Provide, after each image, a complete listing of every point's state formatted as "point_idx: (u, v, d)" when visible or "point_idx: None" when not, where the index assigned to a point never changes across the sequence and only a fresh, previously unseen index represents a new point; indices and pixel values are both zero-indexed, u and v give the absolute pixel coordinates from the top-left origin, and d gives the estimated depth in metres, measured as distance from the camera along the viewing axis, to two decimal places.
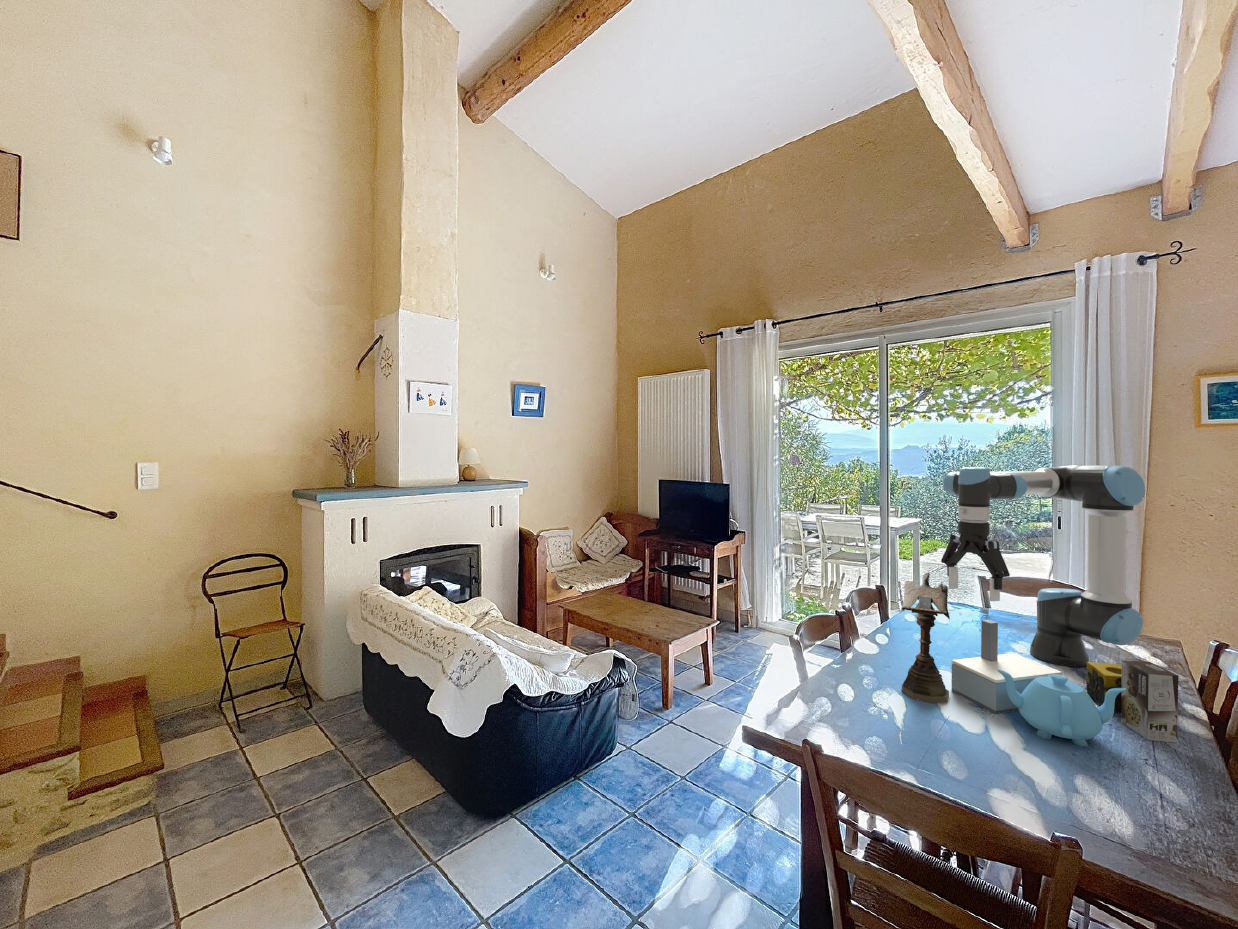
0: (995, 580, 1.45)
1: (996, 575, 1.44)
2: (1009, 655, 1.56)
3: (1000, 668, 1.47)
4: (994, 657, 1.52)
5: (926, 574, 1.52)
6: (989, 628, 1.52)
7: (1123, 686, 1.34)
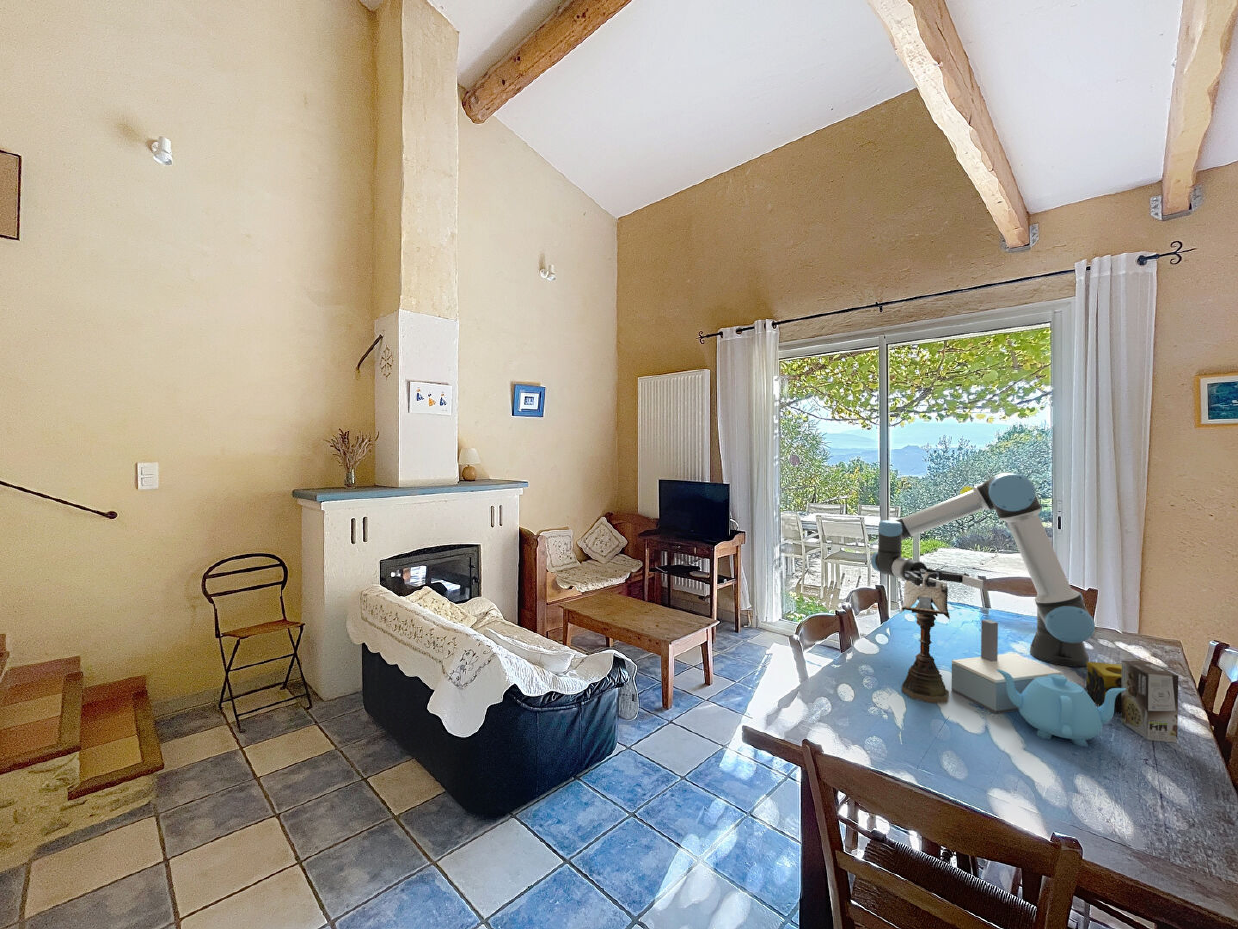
0: None
1: None
2: (1009, 655, 1.56)
3: (1000, 668, 1.47)
4: (994, 657, 1.52)
5: (926, 574, 1.52)
6: (989, 628, 1.52)
7: (1123, 686, 1.34)
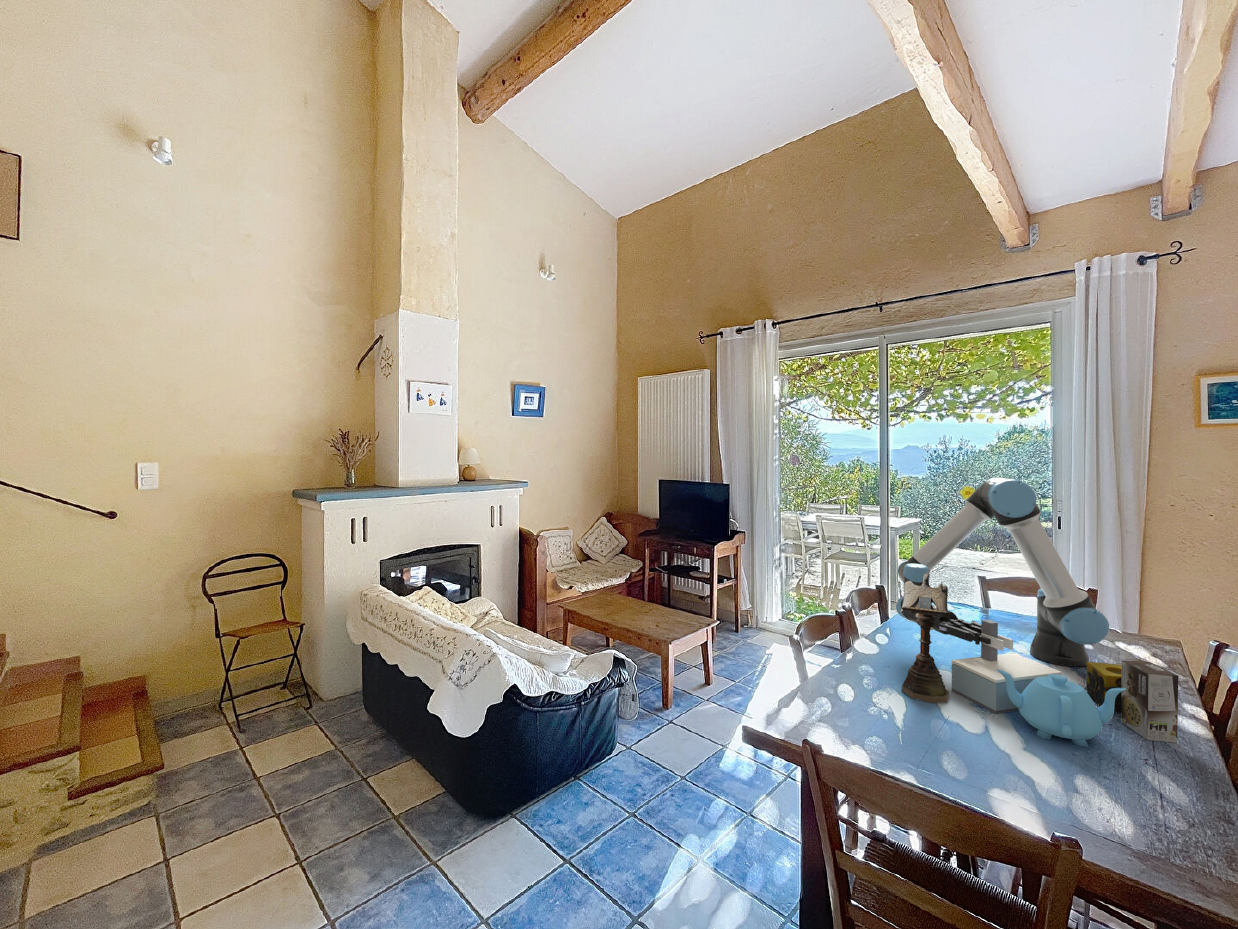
0: None
1: (975, 641, 1.54)
2: (1009, 655, 1.56)
3: (1000, 668, 1.47)
4: (994, 657, 1.52)
5: (926, 574, 1.52)
6: (989, 628, 1.52)
7: (1123, 686, 1.34)
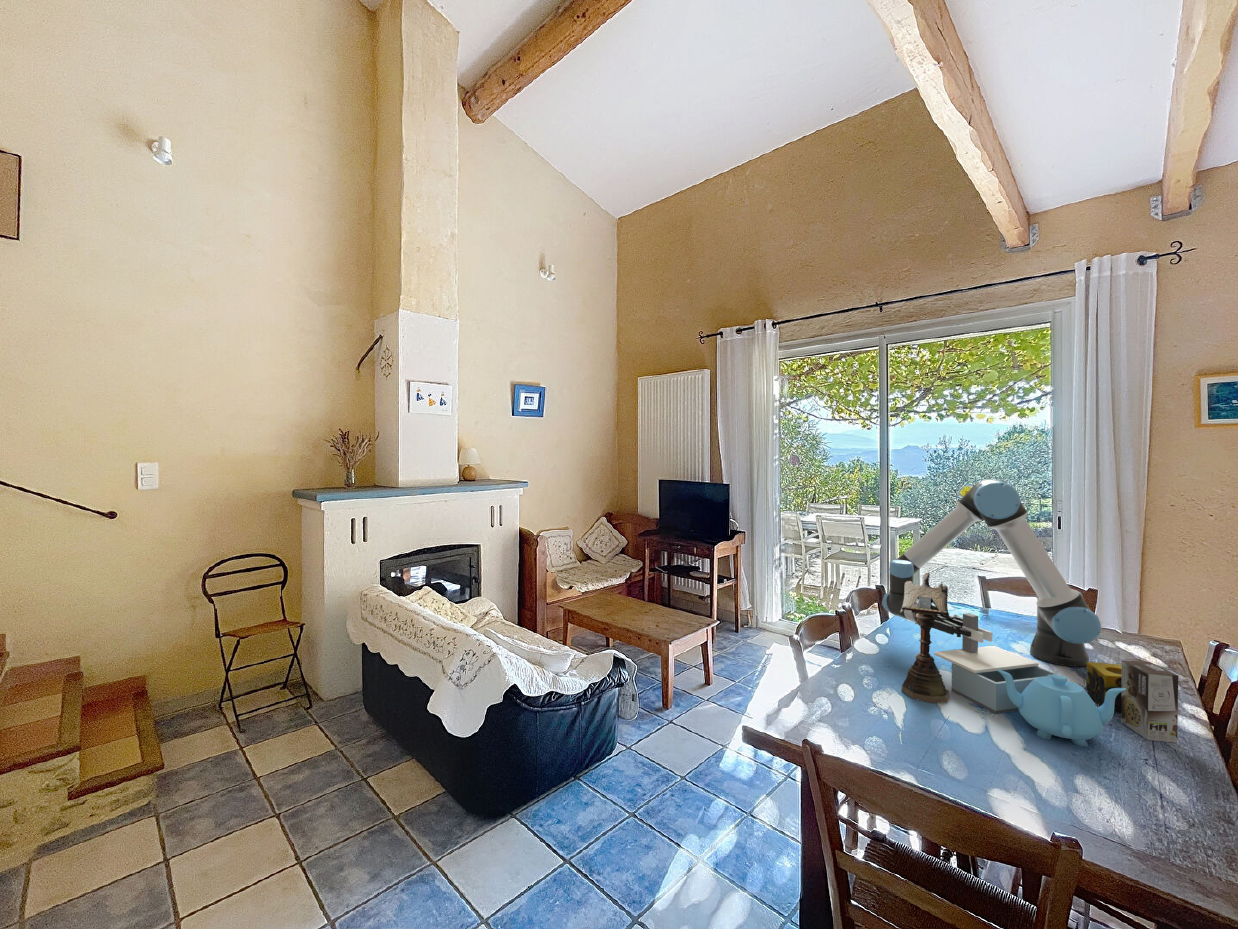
0: None
1: (957, 634, 1.61)
2: (989, 647, 1.63)
3: (980, 659, 1.53)
4: (974, 649, 1.58)
5: (926, 574, 1.52)
6: (970, 621, 1.58)
7: (1123, 686, 1.34)
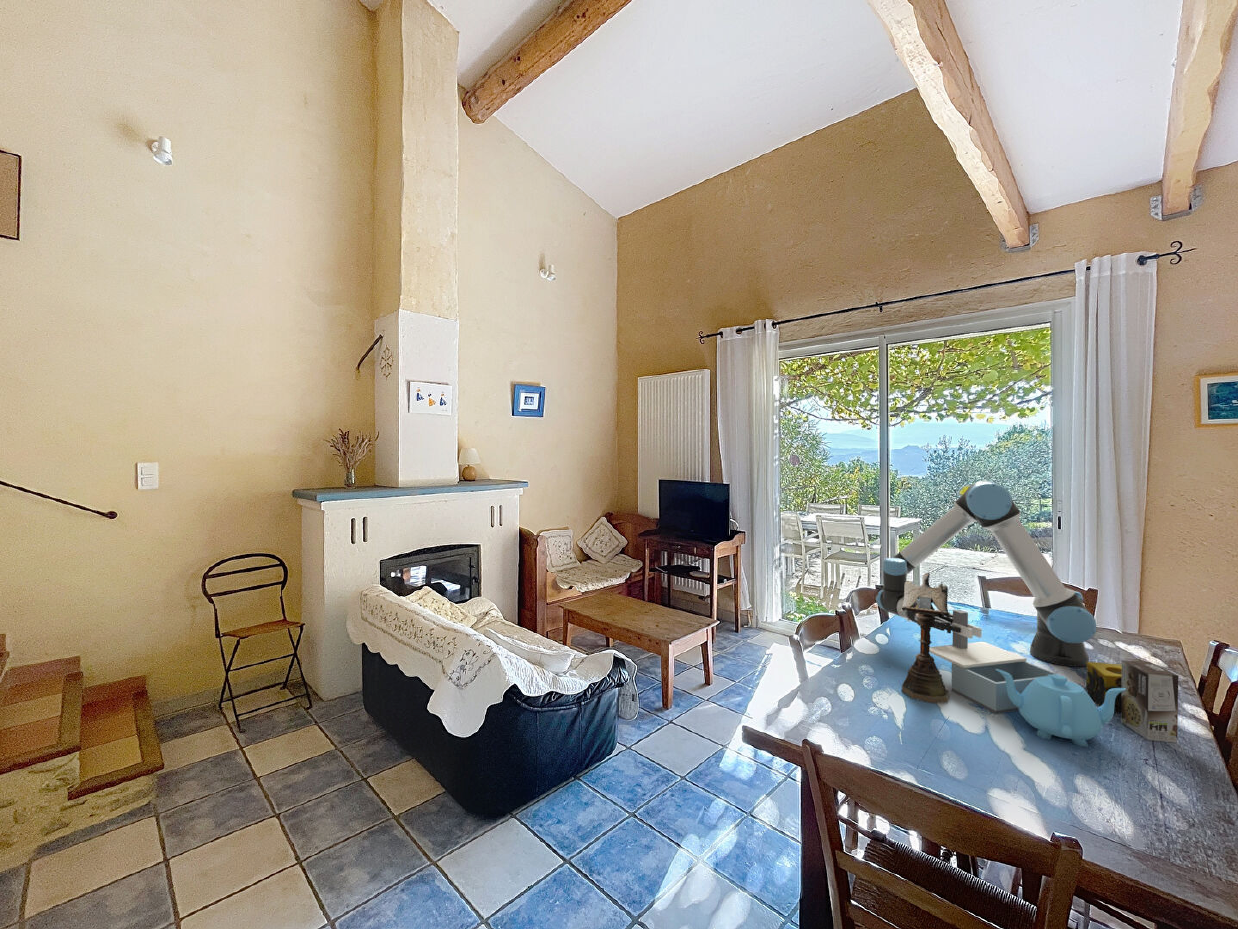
0: None
1: (947, 630, 1.64)
2: (979, 643, 1.66)
3: (969, 655, 1.57)
4: (964, 645, 1.62)
5: (926, 574, 1.52)
6: (960, 618, 1.62)
7: (1123, 686, 1.34)
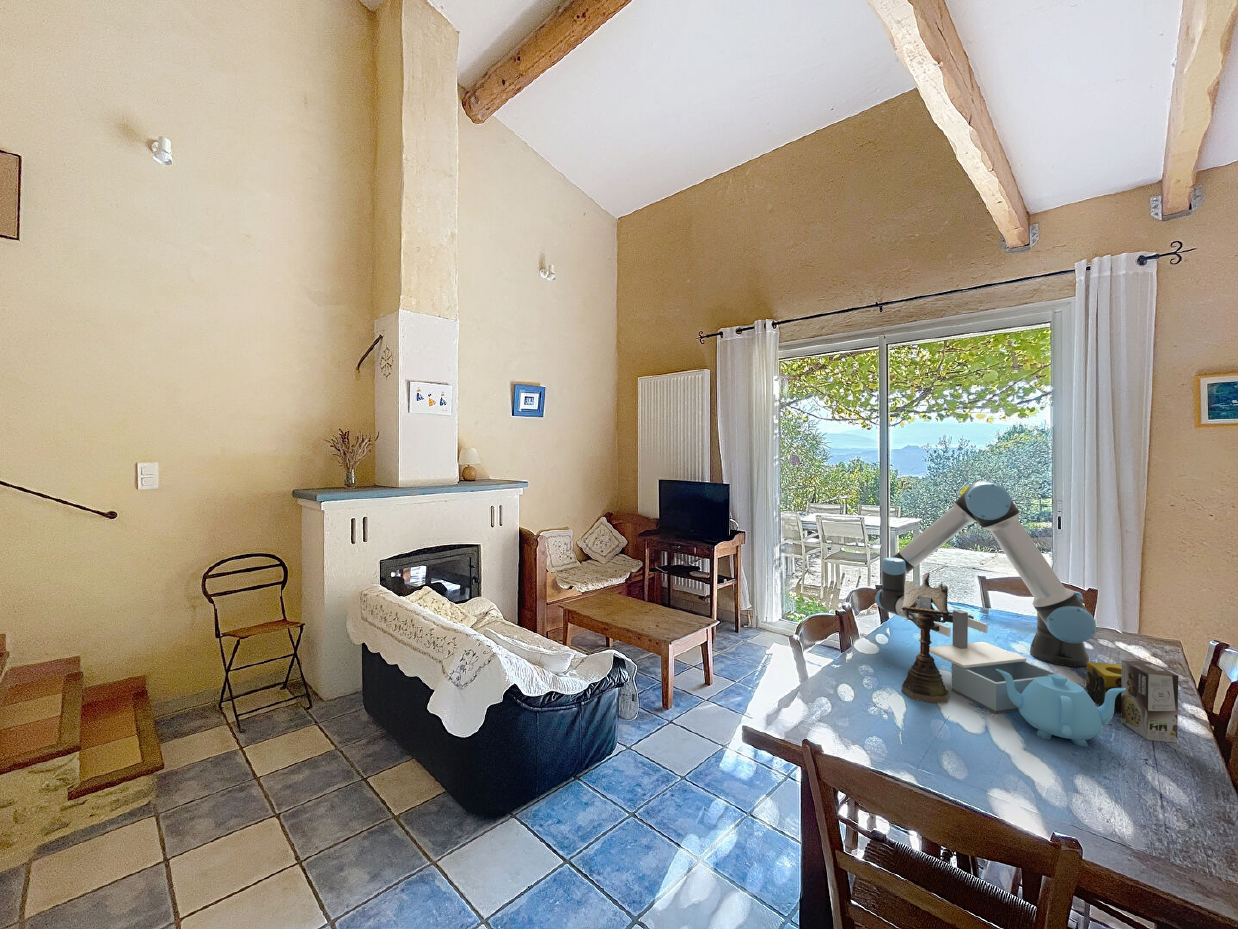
0: None
1: None
2: (979, 643, 1.66)
3: (969, 655, 1.57)
4: (964, 645, 1.62)
5: (926, 574, 1.52)
6: (959, 618, 1.62)
7: (1123, 686, 1.34)
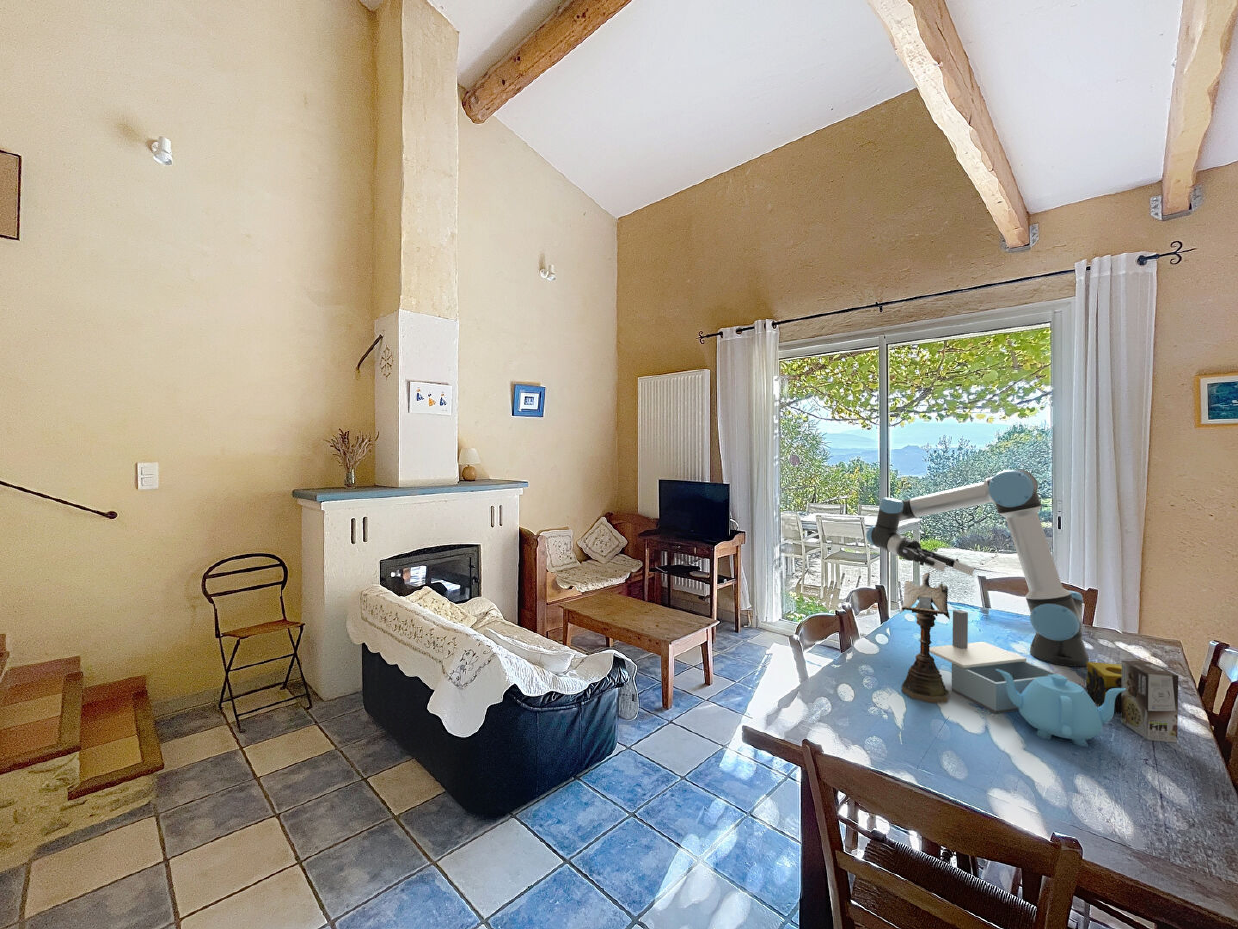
0: (925, 563, 1.76)
1: (920, 562, 1.78)
2: (979, 643, 1.66)
3: (969, 655, 1.57)
4: (964, 645, 1.62)
5: (926, 574, 1.52)
6: (959, 618, 1.62)
7: (1123, 686, 1.34)
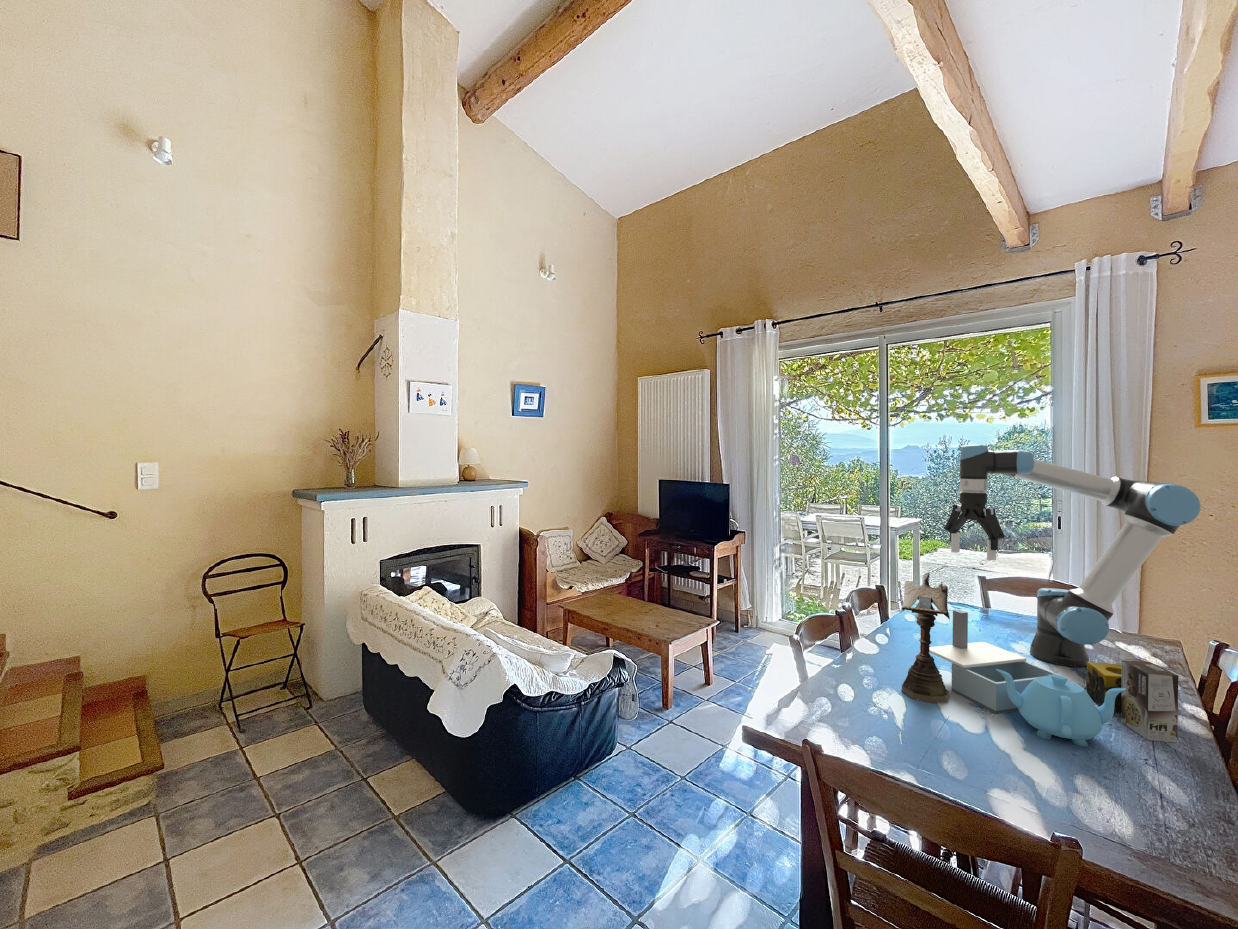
0: (992, 542, 1.67)
1: (993, 537, 1.66)
2: (979, 643, 1.66)
3: (969, 655, 1.57)
4: (964, 645, 1.62)
5: (926, 574, 1.52)
6: (959, 618, 1.62)
7: (1123, 686, 1.34)
